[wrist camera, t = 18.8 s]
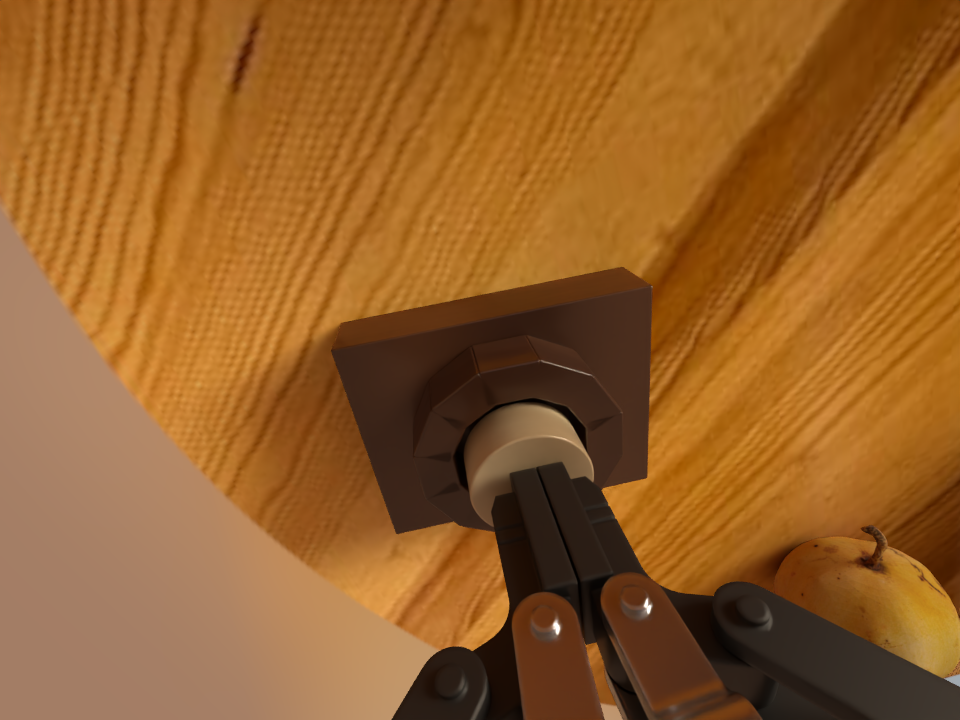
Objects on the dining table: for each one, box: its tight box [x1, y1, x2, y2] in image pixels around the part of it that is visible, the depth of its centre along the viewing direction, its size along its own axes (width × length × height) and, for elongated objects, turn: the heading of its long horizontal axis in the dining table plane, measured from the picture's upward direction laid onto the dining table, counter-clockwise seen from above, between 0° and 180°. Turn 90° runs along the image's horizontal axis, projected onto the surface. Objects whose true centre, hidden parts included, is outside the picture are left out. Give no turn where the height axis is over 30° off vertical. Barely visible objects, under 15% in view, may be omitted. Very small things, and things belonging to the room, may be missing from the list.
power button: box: [464, 402, 594, 527], centre depth 13 cm, size 4×4×2 cm
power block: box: [331, 267, 652, 534], centre depth 16 cm, size 10×8×4 cm
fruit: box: [774, 525, 960, 678], centre depth 22 cm, size 7×7×10 cm
